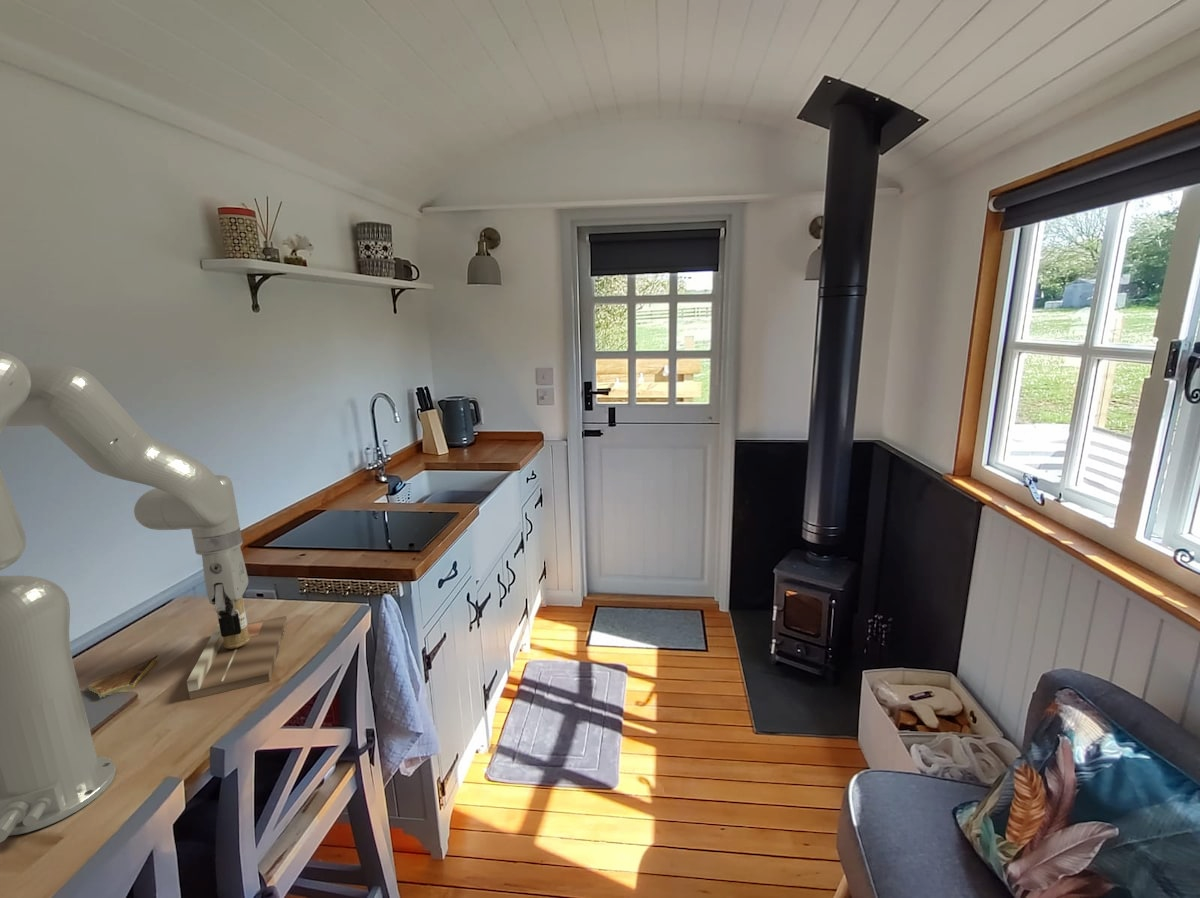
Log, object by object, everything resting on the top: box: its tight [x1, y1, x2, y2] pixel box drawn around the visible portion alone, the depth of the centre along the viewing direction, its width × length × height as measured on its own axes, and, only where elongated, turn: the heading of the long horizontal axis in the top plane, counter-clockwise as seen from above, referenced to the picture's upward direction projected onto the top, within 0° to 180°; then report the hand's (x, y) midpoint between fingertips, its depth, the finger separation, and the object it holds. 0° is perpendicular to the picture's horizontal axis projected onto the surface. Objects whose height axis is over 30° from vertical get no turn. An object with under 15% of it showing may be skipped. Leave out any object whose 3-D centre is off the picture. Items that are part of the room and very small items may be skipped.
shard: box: [87, 654, 159, 697], centre depth 103 cm, size 11×8×2 cm
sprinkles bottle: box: [223, 596, 250, 649], centre depth 109 cm, size 5×5×13 cm
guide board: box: [186, 615, 288, 700], centre depth 109 cm, size 24×12×4 cm, turn 22°
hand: (234, 627), depth 110 cm, fingers closed on sprinkles bottle, 4 cm apart
